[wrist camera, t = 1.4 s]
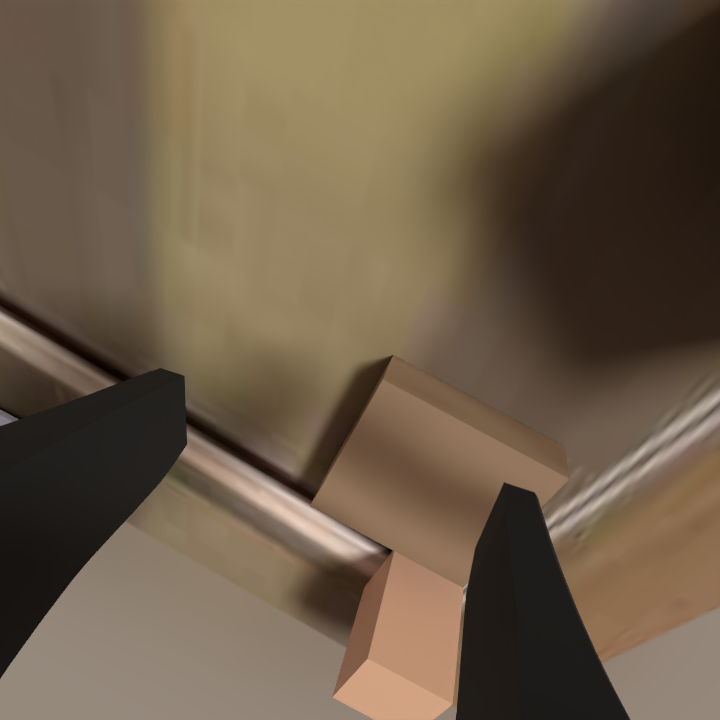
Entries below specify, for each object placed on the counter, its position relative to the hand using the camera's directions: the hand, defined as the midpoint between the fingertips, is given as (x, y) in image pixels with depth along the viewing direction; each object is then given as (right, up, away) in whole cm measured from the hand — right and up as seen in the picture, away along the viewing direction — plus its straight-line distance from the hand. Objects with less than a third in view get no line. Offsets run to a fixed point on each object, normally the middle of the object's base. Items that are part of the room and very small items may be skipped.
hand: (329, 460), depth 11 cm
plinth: (+4, -3, +12) cm, 13 cm away
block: (+3, -10, +16) cm, 19 cm away
